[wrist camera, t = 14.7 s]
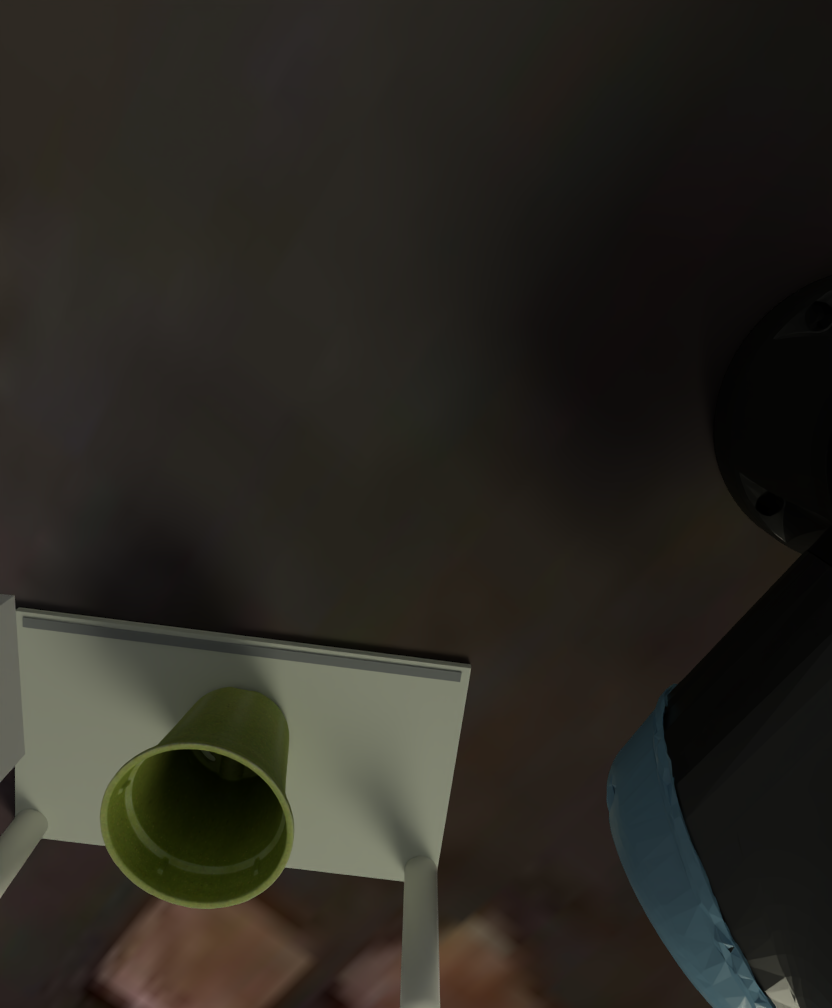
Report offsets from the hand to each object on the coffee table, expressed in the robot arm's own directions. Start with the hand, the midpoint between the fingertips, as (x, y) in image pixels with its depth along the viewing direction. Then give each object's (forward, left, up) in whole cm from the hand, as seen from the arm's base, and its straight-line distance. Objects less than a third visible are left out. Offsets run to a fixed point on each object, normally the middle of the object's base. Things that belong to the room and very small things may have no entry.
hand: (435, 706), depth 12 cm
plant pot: (+8, +20, -31) cm, 38 cm away
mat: (+9, +22, -31) cm, 39 cm away
